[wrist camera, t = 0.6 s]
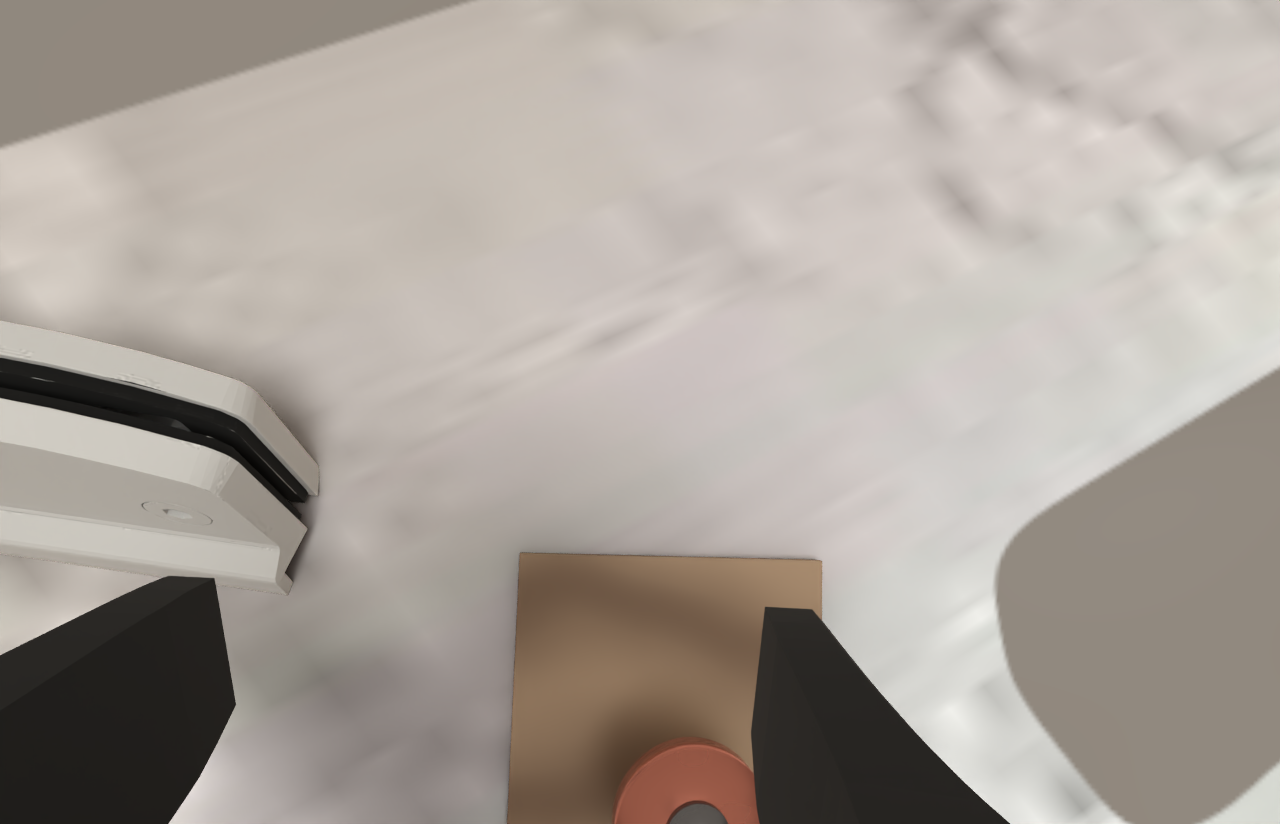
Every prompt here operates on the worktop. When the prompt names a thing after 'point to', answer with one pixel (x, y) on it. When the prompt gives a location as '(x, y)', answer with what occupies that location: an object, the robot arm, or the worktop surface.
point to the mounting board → (633, 667)
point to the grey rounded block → (144, 464)
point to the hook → (687, 786)
